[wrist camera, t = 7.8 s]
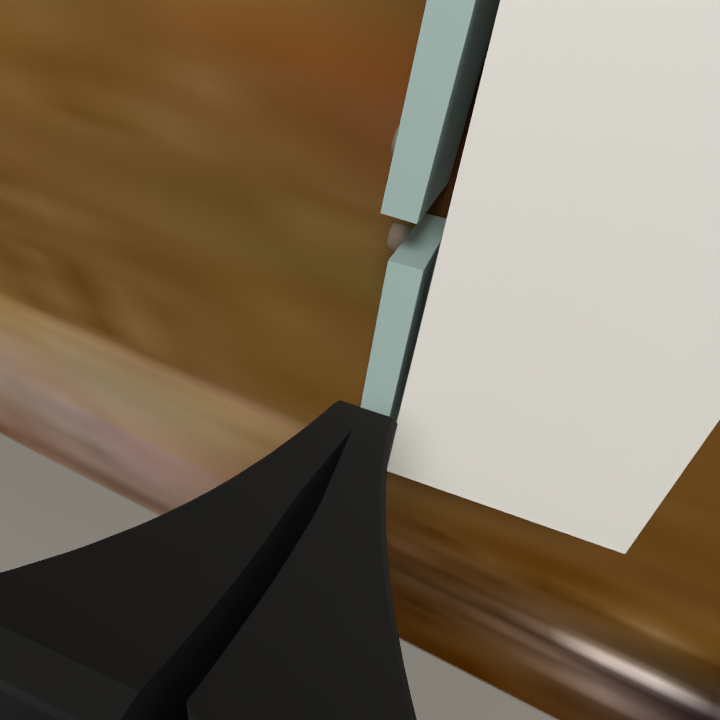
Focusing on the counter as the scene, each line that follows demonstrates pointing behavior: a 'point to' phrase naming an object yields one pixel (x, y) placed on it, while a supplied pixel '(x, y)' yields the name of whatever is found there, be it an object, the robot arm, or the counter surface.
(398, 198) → the door
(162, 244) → the counter surface
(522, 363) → the cabinet
